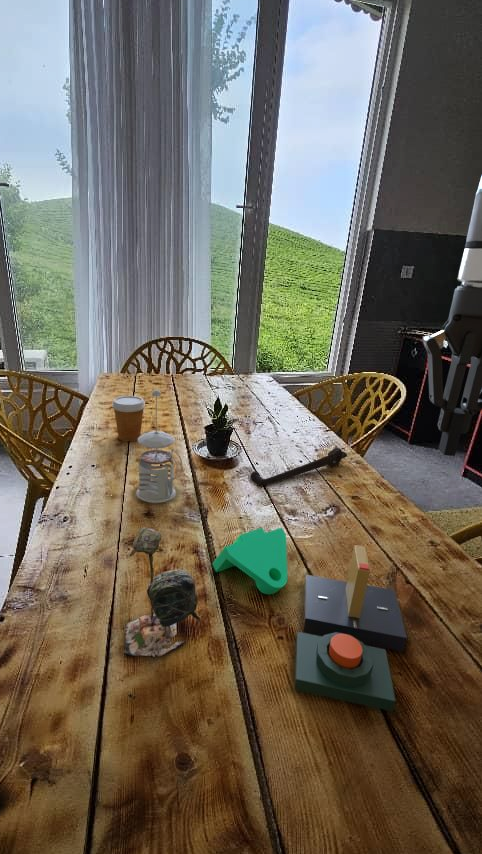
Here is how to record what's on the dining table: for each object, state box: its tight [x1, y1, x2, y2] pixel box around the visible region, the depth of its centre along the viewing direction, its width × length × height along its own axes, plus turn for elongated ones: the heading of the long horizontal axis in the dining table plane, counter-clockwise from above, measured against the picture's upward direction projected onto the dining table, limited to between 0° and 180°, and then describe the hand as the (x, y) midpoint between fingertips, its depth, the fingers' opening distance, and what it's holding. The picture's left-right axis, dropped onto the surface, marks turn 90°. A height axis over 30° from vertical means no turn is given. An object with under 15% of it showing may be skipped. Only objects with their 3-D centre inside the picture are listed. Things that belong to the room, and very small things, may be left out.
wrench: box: [250, 446, 348, 486], centre depth 116 cm, size 5×5×30 cm
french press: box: [135, 389, 183, 504], centre depth 97 cm, size 10×12×25 cm
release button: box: [329, 634, 363, 668], centre depth 58 cm, size 4×4×2 cm
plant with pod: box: [123, 526, 202, 658], centre depth 60 cm, size 8×11×20 cm
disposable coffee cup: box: [111, 395, 146, 442], centre depth 131 cm, size 10×10×12 cm
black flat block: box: [302, 574, 408, 653], centre depth 68 cm, size 14×10×3 cm
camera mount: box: [211, 527, 288, 595], centre depth 76 cm, size 12×8×10 cm
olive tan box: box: [346, 544, 371, 618], centre depth 66 cm, size 6×2×9 cm, turn 167°
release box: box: [293, 631, 397, 712], centre depth 59 cm, size 12×8×4 cm, turn 77°
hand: (446, 451), depth 66 cm, fingers closed
